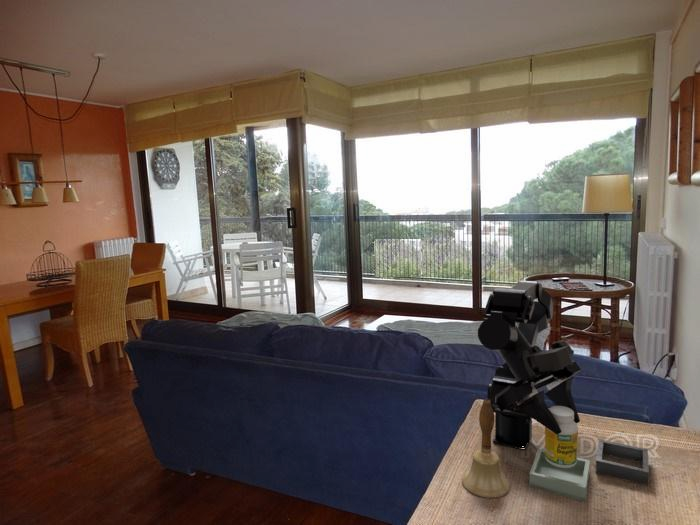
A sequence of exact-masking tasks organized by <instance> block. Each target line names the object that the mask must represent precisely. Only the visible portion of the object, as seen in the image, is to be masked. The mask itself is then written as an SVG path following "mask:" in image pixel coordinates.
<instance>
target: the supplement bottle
mask: <svg viewBox="0 0 700 525" xmlns="http://www.w3.org/2000/svg"><path fill="white" fill-rule="evenodd" d="M549 410H550V412H551V413H552V415H553V417H554V418H555V420H556V421H557V423H558V425H559V427H560V429H561V431H562V432H561V433H559V434H555V433H554V432H552V431H551V430H549V429H548V428H546V427H545V426H544V450H545V458H546V460H547V461H548V462H549V463H550V464H552V465H554V466H556V467H560V468H571V467H573V466H575V464H576V463H577V458H578V447H579V446H578V444H579V442H578V441H579V440H578V439H579V426H578V423H575V422H574V411H573V410H572V409H570V408H568V407H564V406H556V405H553V406H550V408H549Z"/></svg>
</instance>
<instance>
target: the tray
mask: <svg viewBox="0 0 700 525" xmlns="http://www.w3.org/2000/svg"><path fill="white" fill-rule="evenodd" d="M531 465H532V466H531V469H530V471H529V479H528V480H529V483H528V486H529V487H530V488H535V489H538V490H541V491H546V492H548V493H552V494H556V495H560V496H563V497H568V498H571V499H575V500H579V501H582V502H586V499H587V492H588V486H589V478H590V473H591V471H590V470H591V467H590V466H591V460H589V459H586V458H581V457H577V463H576V464H575V466H573V467H571V468H560V467H556V466H554V465H552V464H550V463H549V462H548V461H547V460H546V458H545V449H543V448H542V449H541V448H537V451H536V454H535V456H534V460H533V462H532V464H531Z"/></svg>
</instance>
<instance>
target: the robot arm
mask: <svg viewBox="0 0 700 525" xmlns="http://www.w3.org/2000/svg"><path fill="white" fill-rule="evenodd" d="M553 316H554V302H553V297H552V296H551V295H550V294H549V293H548V292H547V291H546V290H545V289H543V283H542V282H539V281H538V280H537V281H536V280H519V281H517V283H516V284H515V285H513V286H512V287H510V288H505V287H504V288H503V287H495V288H494V289H493V290H492V292H491V293H489V296H488V299H487V301H486V305H485V308H484V311H483V314H482V318H483V319H484V320H483V321H481V323H480V324H479V326H478V328H477V337H478V340H479V342H480V343H481V345H483V347H485V348H486V349H489V350H492V351H496V352H497V353H498V354H499V355H500V357H501V359H502V360H503V361H504V362H505V363H503V364H502V365H501V366H498V367H497V368H496V369H495V372H494V375H493V379H492V380H491V381H492V382H491V383H489V385H488V387H487V392H486V393H487V394H486V398H487V400H490V401H491V405H492V408H493V411H494V425H495V426H494V427H495V430H494V437H493V438H492V442H493V443H494V444H499V445H503V446H507V447H511V448H515V447H517V448H516V449H519V448H525V447H526V445H527V446H528V444H530V443H531V441H532V437H533V420H535V421H536V422H538V423H539V424H541V425H542V426H543V427H544V428H545V427H546V428H548V429H549V430H551V431H552V432H554V433H555V434H559V433H561V432H562V431H561V429H560V427H559V425H558V423H557V421H556V420H555V418H554V417H553V415H552V413H551V412H550V410H549V409H550V408H549V407H548V405H547V404H546V402H545V396H546V397H547V398H548V399H549V401H550V402H552V403H553V404H554V406H564V407H568V408H570V409H572V410H573V411H574V422H575V423H576V424H578V423H580V421H581V420H580V417H579V414H578V410H577V406H576V405H575V404H576V403H575V401H574V398H573V394H572V383H573V381H574V380H575V376H574V375H576V374H578V373H579V372H581V371H582V369H581V367H580V366H579V365H578V363H577V362H576V361H575V360H572V358H573V357H574V354H575V351H574V349H572V347H571V346H570V345H569V344H568V343H567V341H566V340H559V341H558V340H557V341H556V342H553V343H552V344H551V345H552V346H551V348H550V349H547V350H542V348H540V346H537V345H536V344H537V340H538V336H539V334H540V333H541V332H543V331H545V330H546V329H547V328H548V326H549V323H550V320H552V319H553ZM544 387H546V388H547V391H546V392H545V391H544V390H542V391H539V392H538V390H540V389H543V388H544ZM532 419H533V420H532ZM527 443H528V444H527ZM522 446H524V447H522ZM526 448H527V447H526Z"/></svg>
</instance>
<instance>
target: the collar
mask: <svg viewBox="0 0 700 525" xmlns="http://www.w3.org/2000/svg"><path fill="white" fill-rule="evenodd" d="M604 455H605V456H611V457H615V458H620V459H624V460H629V461H632V462H638V463H641V467H637V466H633V465H632V466H631V465H627V464H624V463H619V462H614V461H610V460H606V459H603V457H604ZM649 468H650V466H649V450H648V449H647V448H643V447H638V446H633V445H629V444H623V443H619V442H616V441H615V442H614V441H609V440H606V439H605V440H603V439H598V445H597V452H596V461H595V474H599V475H602V476H603V475H604V476H606V477H609V478H610V477H612V478H616V479H619V480H623V481H628V482H631V483H636V484H640V485H644V486H649V478H650V477H649V476H650V475H649V474H650V471H649V470H650V469H649Z"/></svg>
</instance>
